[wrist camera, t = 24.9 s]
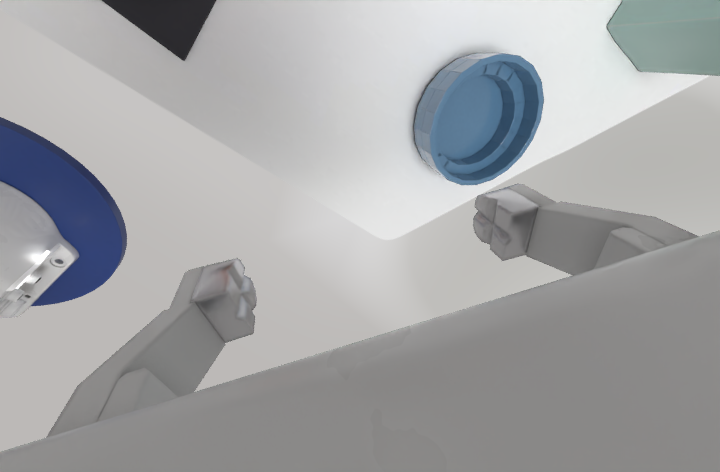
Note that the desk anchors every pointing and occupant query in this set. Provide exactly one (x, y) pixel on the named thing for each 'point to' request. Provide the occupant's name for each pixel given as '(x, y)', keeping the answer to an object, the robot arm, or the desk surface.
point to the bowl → (479, 116)
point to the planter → (669, 35)
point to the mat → (167, 20)
